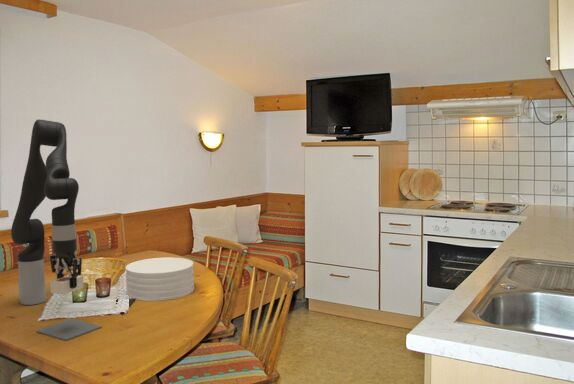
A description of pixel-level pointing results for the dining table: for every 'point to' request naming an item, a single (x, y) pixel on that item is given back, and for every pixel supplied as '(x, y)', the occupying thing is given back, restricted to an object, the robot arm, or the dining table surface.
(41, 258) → the robot arm
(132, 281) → the plate stack
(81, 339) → the dining table surface
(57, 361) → the dining table surface
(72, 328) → the mat
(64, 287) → the card box
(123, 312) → the chocolate bar
